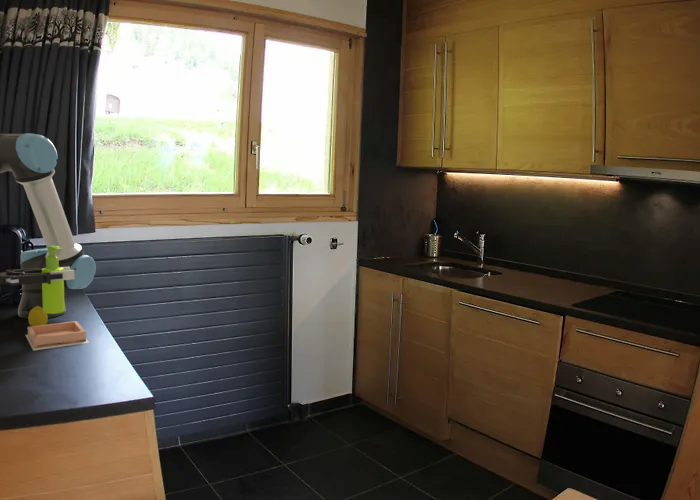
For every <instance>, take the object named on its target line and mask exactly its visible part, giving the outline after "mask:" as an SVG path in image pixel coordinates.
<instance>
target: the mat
mask: <svg viewBox="0 0 700 500" xmlns="http://www.w3.org/2000/svg"><path fill="white" fill-rule="evenodd" d="M25 337H26V339H27V341H28V344H29V345H30V347H31V349H32V351H39V350H47V349H48V350H49V349H56V348H61V347H62V348H63V347H68V346H77V345H82V344H89V343H90V341H89V340H88V339H87V338H86V341H84V342H77V343H70V344H62V345H55V346H48V347H41V348H34V347H33V345H32V343H31V341H30V339H29V337H28V334H25Z"/></svg>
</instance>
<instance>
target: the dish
mask: <svg viewBox="0 0 700 500" xmlns="http://www.w3.org/2000/svg"><path fill="white" fill-rule="evenodd" d="M27 335H28V337H29V339H30V341H31V343H32V345H33V347H34V348H41V347H48V346H55V345H62V344H70V343H77V342H84V341H86V339H87V331H86V330H85V329H84V328H83V327H82V325H81V324H80V322H78V321H77V320H74V321H65V322H56V323H47V324H46V325H39V326H31V325H30V326H27Z"/></svg>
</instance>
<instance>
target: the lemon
mask: <svg viewBox="0 0 700 500" xmlns="http://www.w3.org/2000/svg"><path fill="white" fill-rule="evenodd" d="M48 319H49V318H48V316H47V314H46V313H43V308H42V307H39V306H36V307H35V308H33V309H32V310H31V311H30V313H29V317H28V324H29V326H30V327H31V326H39V325H47V324H48V321H49V320H48Z"/></svg>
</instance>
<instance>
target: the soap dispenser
mask: <svg viewBox="0 0 700 500" xmlns="http://www.w3.org/2000/svg"><path fill="white" fill-rule="evenodd" d="M45 248H49V256H48V257H46V268H43V269H42V273H48V272H49V273H50V272H53V271H63V268H62V267H59V260H58V257H57V256H55V250H56V251H58V250H62V248H61V247H59V246H46V245H45ZM42 295H43V313H46V314H57V313H62V312H64V311H65V306H66V304H64V303H65V288H64V280H59V281H51V284H48V283H42Z"/></svg>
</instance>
